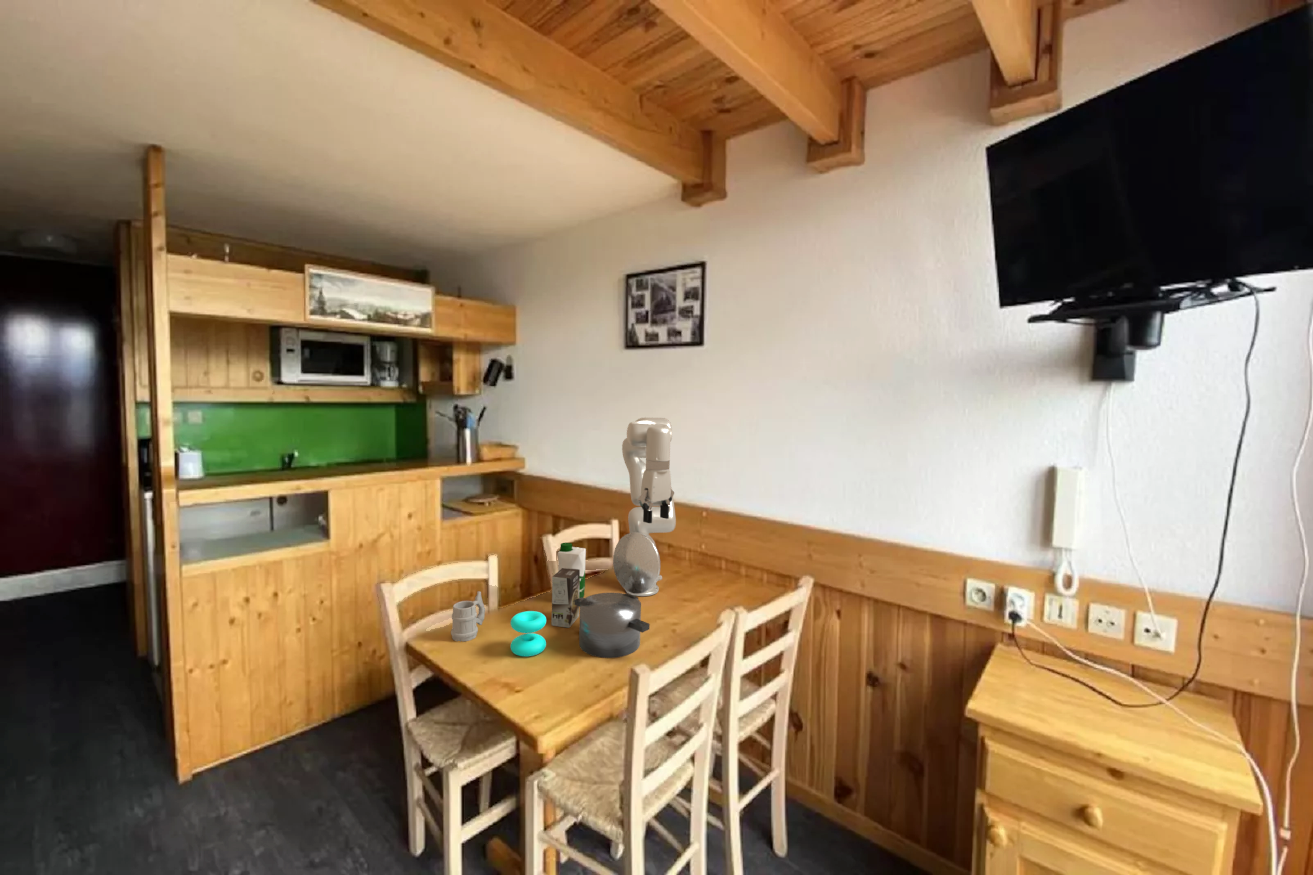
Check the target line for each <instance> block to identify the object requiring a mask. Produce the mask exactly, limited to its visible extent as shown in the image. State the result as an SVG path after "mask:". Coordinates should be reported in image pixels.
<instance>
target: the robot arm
mask: <svg viewBox="0 0 1313 875" xmlns="http://www.w3.org/2000/svg"><path fill="white" fill-rule="evenodd" d="M626 428H627V429H626V438H624V440H623V441H622V444H621V451H622V457H623V462H624V464H625V467H626V468H627V471H628V474H629V491H630V492H629V493H630V498H631V502H632V504H633V505H634V506H637V507H633V508H632V509H631V510H629V512H628V515H627V517H628V519H627V520H628V521H627V522H628V528H629V530H628V531H629V533H635V532H638V533H642V534H645V535H646V536H648V537H649V538H650V539H651V540H652V541H653V542H654V544H655V545H656V542H655V540H654V539H653V537H652V536H651V535H650V534H653V533H654V534H655V533H656V534H657V533H658V534H659V533H664V534H665V533H671V532H673V531H674V530H675V529H676V526H677V525H676V524H677V519H676V518H677V517H676V509H675V502H674V500H675V499H674V495H675V492H674V491H673V488H672V476H671V470H670V461H671V442H672V439H673V432H672V431H673V428H672V424H671V422H670V420H669V419H668V418H665V417H640V418H638V419H636V420H635V421H631V422H629V424H628V426H627V427H626ZM642 459H645V462H644V461H643V460H642ZM662 580H663V576H662V575H661V574H659V577H658V580H657V582H659V581H662ZM657 582H656V583H655V585H654V586H653V587H652V588H651V589H650V590H649V591H647V592H644V593H639V594H635V593H631V592H629V591H627V590H626V589H624V591H625V592H626V593H628V594H630V595H633V596H636V597H649V596H653V595H656V594H657V593H659V589H660V588H659V586H658V585H657Z"/></svg>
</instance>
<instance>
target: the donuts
mask: <svg viewBox="0 0 1313 875" xmlns="http://www.w3.org/2000/svg"><path fill="white" fill-rule="evenodd" d="M546 624H547V617H546V616H545V614H543V613H542V612H540V611H536V610H535V611H534V610H527V611H522V612H518V613H516V614H515V615H514V616H512V617H511V619H510V627H511V629H512V630H514V631H515V632H518V633H521V634H520V635H517V636H516V637H515V638H513V639H512V640H511V643H510V651H511V652H512V653H513V654H514V655H516V656H518V657H519V656H520V657H533V656H536V655H539V654H541V653H542V652H544V650H545V649H546V647H547V642H546V639H545V637H544V636H542V635H541V634H538V633H536V632H539V631H540V630H542V629H543V628H544V627H545V626H546Z"/></svg>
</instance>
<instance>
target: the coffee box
mask: <svg viewBox="0 0 1313 875" xmlns="http://www.w3.org/2000/svg"><path fill="white" fill-rule="evenodd" d="M551 578H552V582H551V587H552V588H551V626H554V627H562V628H571V626H572V625H573V624H574V623H575V621H577V619H578V618H580V607H579V606H577V605H575V600H576V599H578V598H579V584H580V570H579V569H566V568H562V569H561V570H560V571H557V572H556V573H555V574H554V575H552V576H551Z"/></svg>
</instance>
